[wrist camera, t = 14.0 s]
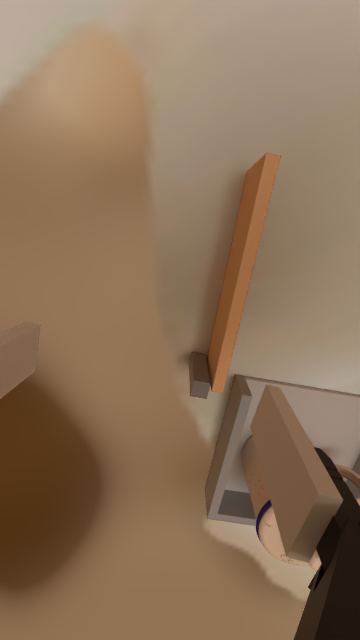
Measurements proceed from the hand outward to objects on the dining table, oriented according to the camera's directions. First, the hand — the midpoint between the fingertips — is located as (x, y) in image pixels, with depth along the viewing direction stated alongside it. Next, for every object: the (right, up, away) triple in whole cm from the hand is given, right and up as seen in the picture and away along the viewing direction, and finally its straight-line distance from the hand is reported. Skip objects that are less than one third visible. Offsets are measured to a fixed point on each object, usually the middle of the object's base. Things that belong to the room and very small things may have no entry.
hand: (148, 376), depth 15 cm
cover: (+7, +7, +13) cm, 16 cm away
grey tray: (+13, -11, +19) cm, 25 cm away
